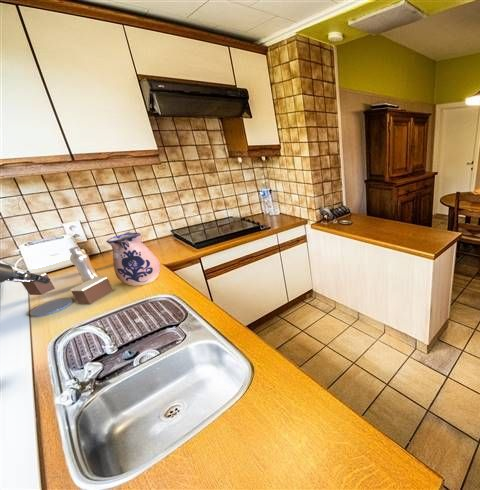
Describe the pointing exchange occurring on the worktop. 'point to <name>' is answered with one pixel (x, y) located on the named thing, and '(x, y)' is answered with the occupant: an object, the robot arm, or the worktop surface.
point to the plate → (51, 307)
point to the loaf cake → (91, 290)
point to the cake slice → (38, 286)
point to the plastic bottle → (82, 264)
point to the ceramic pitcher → (133, 260)
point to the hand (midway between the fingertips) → (42, 281)
